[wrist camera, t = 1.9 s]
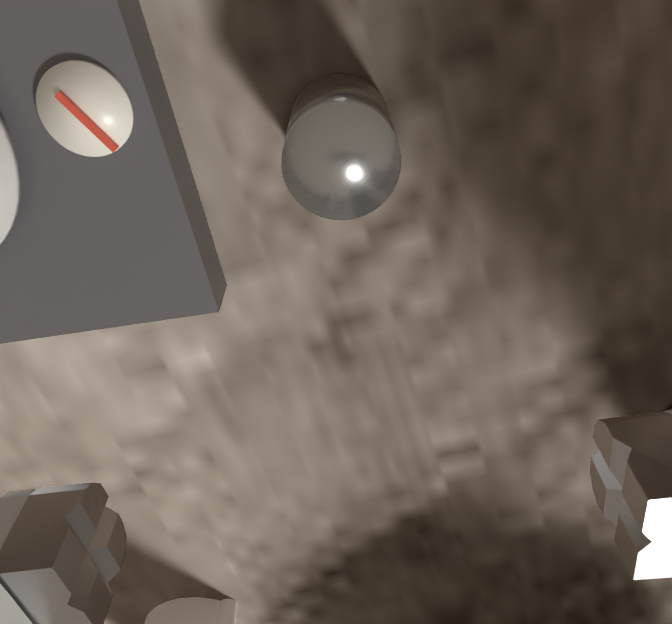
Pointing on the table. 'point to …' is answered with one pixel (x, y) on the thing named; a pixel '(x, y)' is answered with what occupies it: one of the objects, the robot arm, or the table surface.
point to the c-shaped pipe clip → (194, 611)
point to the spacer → (340, 148)
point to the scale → (93, 177)
